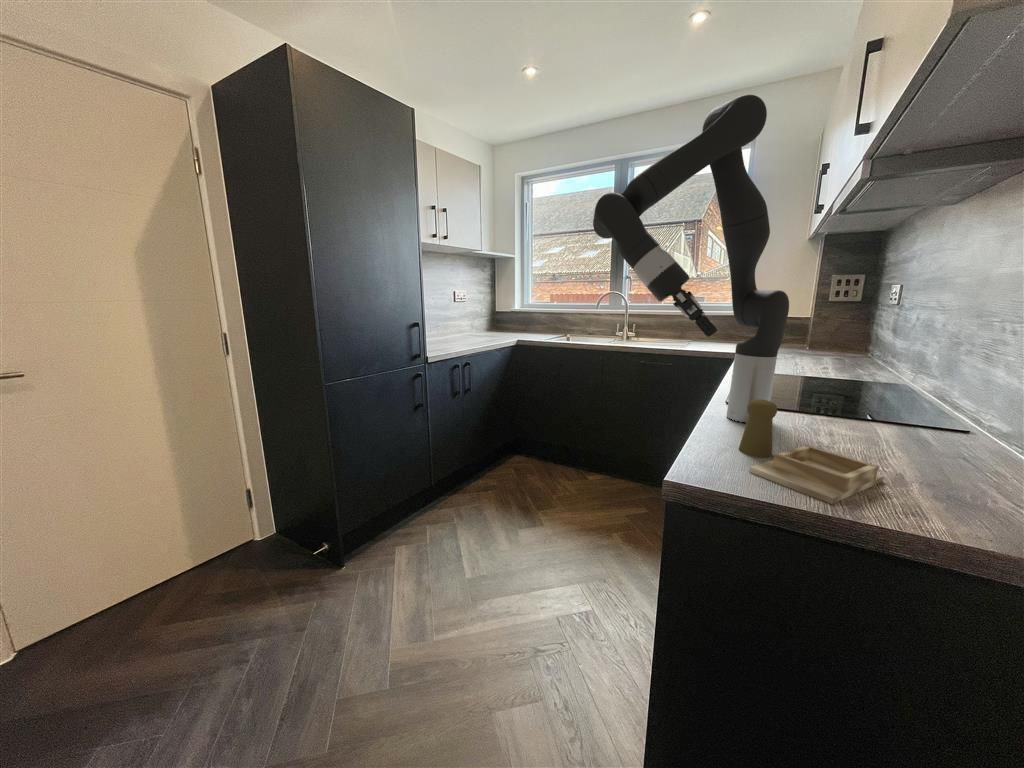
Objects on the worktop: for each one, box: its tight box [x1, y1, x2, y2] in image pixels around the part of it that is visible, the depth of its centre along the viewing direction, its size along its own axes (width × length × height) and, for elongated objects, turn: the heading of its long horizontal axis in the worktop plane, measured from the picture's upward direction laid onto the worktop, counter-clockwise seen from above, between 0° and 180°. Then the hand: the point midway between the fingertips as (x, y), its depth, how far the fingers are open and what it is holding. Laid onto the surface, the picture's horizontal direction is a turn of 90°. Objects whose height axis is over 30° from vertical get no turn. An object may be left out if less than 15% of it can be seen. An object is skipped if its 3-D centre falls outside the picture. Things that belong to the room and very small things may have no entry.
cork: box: [738, 399, 778, 459], centre depth 82 cm, size 6×6×11 cm
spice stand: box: [748, 444, 885, 505], centre depth 72 cm, size 18×13×4 cm
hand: (711, 332), depth 82 cm, fingers open, 8 cm apart
